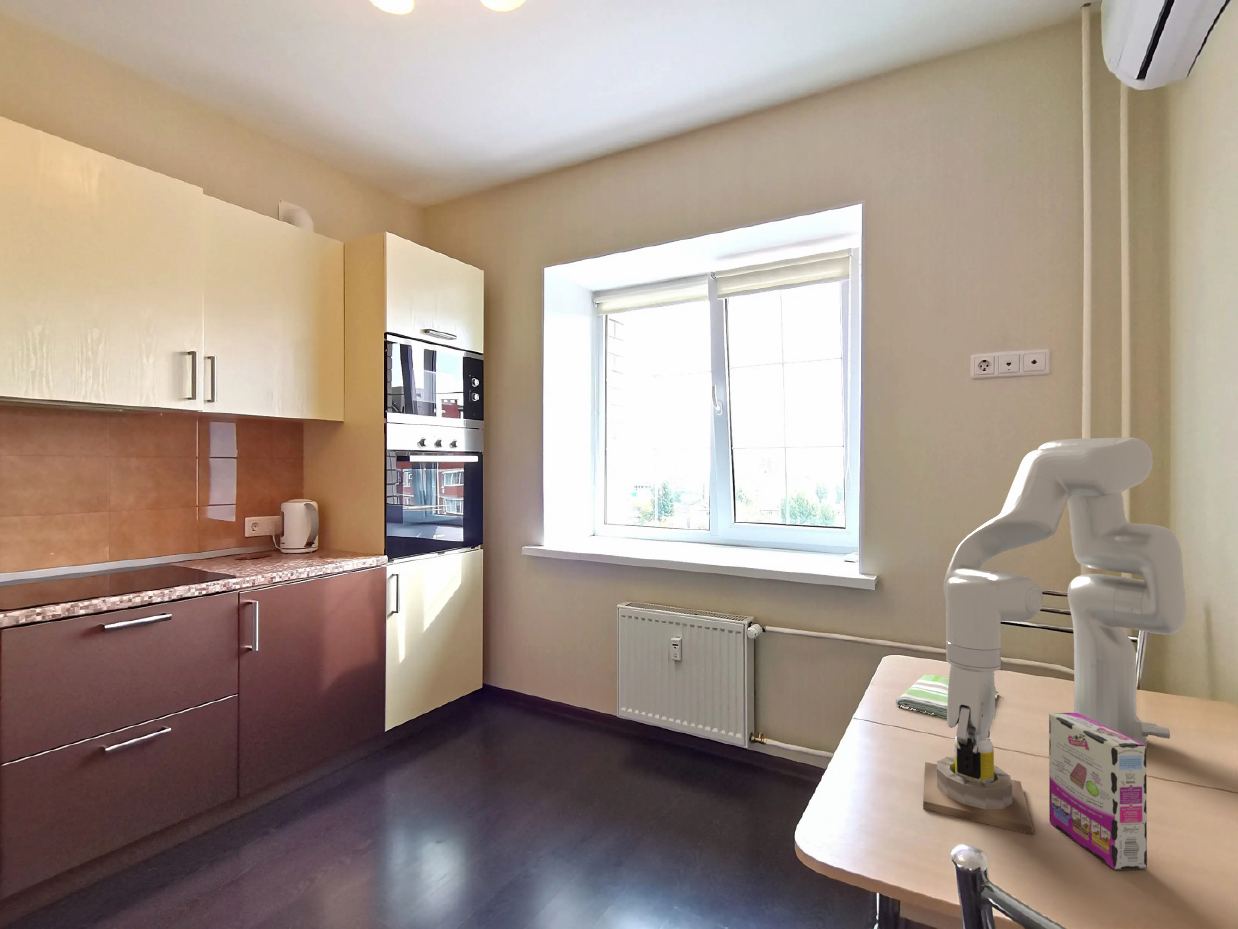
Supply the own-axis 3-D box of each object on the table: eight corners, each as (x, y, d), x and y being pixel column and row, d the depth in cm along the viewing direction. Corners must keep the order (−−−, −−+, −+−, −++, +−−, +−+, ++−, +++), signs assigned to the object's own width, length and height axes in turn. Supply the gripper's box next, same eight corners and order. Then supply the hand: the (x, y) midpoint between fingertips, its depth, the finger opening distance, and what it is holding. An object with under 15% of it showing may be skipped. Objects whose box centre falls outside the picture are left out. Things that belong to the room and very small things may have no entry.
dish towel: (893, 708, 133) (893, 693, 133) (919, 680, 151) (919, 666, 151) (983, 730, 122) (983, 713, 122) (1000, 697, 140) (1000, 682, 140)
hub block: (1020, 788, 99) (1020, 763, 99) (1032, 834, 86) (1032, 805, 86) (925, 768, 105) (925, 744, 105) (923, 808, 93) (923, 781, 93)
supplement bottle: (992, 782, 97) (991, 721, 97) (996, 798, 92) (995, 734, 92) (954, 774, 100) (953, 715, 100) (955, 790, 95) (955, 728, 95)
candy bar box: (1150, 870, 79) (1149, 745, 79) (1115, 872, 78) (1114, 746, 78) (1078, 820, 90) (1077, 710, 90) (1047, 822, 90) (1046, 711, 90)
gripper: (961, 638, 105) (962, 742, 105) (931, 662, 92) (932, 780, 92) (1011, 647, 100) (1012, 756, 100) (986, 674, 87) (988, 798, 87)
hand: (973, 767), depth 96 cm, fingers closed on supplement bottle, 5 cm apart
